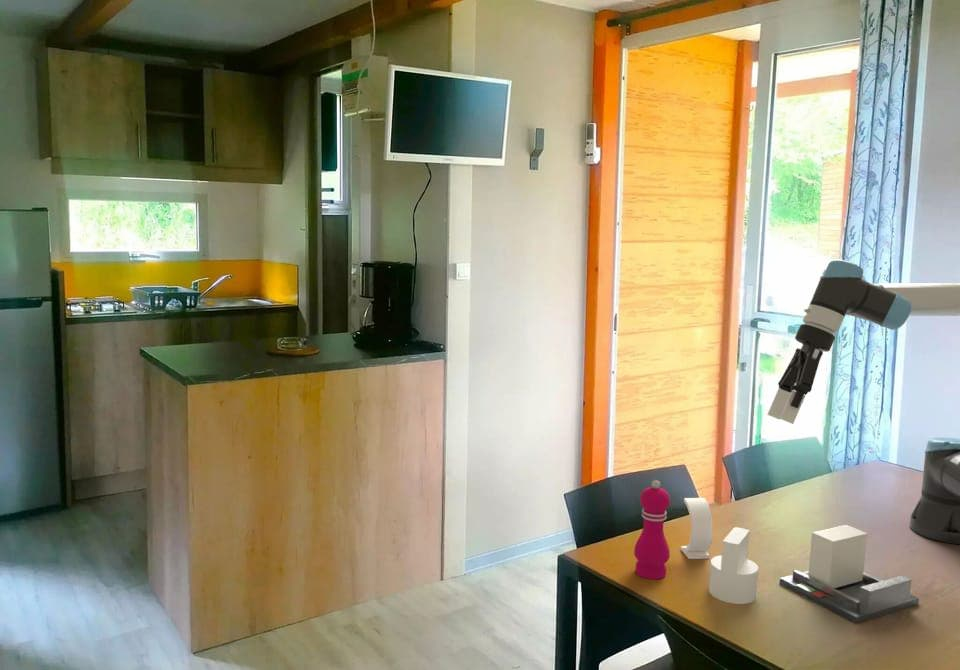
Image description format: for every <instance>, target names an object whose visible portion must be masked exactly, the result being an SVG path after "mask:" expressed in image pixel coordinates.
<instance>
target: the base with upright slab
mask: <svg viewBox="0 0 960 670" xmlns="http://www.w3.org/2000/svg"><path fill="white" fill-rule="evenodd" d="M750 532H751V531H750V529H746V528H743V527H737V526H735V527H733V528H732V529H731V531H730V532H729V533H728V534H727V535H726V536H725V538H724V539H723V540H722V548H721V549H722V550H721V555H720V554H719V555H715V556H713V557H712V558H711V560H710V567H709V579H708V580H709V581H708V592H709V594H710V595H711V596H712V597H714V598H715V599H718V600H720V601H722V602H725V603H728V604H729V603H730V604H735V605H736V604H737V605H739V604H740V605H745V604H750V603H754V601H755V600H756V599H757V591H758V578H759V577H758V576H759V566H758V564H757V563H755V561H754V560H750V559H748V558H749V544H750Z"/></svg>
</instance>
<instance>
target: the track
mask: <svg viewBox="0 0 960 670" xmlns="http://www.w3.org/2000/svg"><path fill="white" fill-rule="evenodd" d="M808 573H809V570H805V571H800V570H798V569H795V570H792V574H790V575H787V576H783V577H779V585H780V586H781V585H782V587H785V588H787V589H789V590H791V591H793V592H795V593H797V594H798V595H801V596H803V597H805V598H806V599H807V600H810V601H812V602H814V603H815V604H818V605H820V606H821V607H823V608H825V609H828V610H829V611H831V612H833V613H835V614H837V615H838V616H840V617H843V618H844V619H847V620H848V621H850V622H852V623H854V624H856V625H858V624H861V623H863V622H866V621H870V620H873V619H876V618H879V617H882V616H886V615H889V614H891V613H895V612H898V611H901V610H905V609H907V608H911V607H914V606H918V605H919V603H920V602H919V601H920V599H919V598H918V597H916V596H915V595H912V594H911V588H912V578H909V577H906V576H905V575H898V576H895V577H892V578H887V579H885V580H882V579H880V578H878V577H876V576H873V575H872V574H869V573H867V572H865V571H864V572H863V580H862V581H859V582H855V583H851V584H848V585H844V586H841V587H837V588H832V587H830V586H828V585H826V584H824V583H822V582H820V581H818V580H816V579H814V578H812V577H810V576H808Z"/></svg>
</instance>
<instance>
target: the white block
mask: <svg viewBox="0 0 960 670" xmlns="http://www.w3.org/2000/svg"><path fill="white" fill-rule="evenodd" d="M867 538H868V533H867V532H865V531H862V530H860V529H858V528H855V527H852V526H850V525H848V524H842V525H838V526H834V527H830V528H826V529H821V530H817V531H813V532H811V540H810V542H811V543H810V551H809V563H808V564H809V565H808V571H809V573H808V576H810V577H812V578H814V579H816V580H818V581H820V582H822V583H824V584H826V585H828V586H830V587H832V588H837V587H841V586H844V585H848V584H851V583H855V582H859V581H862V580H863V572H865V560H866V549H867V542H868V541H867V540H868V539H867Z"/></svg>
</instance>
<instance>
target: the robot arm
mask: <svg viewBox="0 0 960 670" xmlns="http://www.w3.org/2000/svg"><path fill="white" fill-rule="evenodd" d="M863 276H864V269H863V267H861V266H859V265H858V264H855V263H853V262H851V261H848V260H843V259H839V258H838V259H837V258H836V259H831V260H830V261H828V263H827V264H826V266H825V268H824V270H823V272H822V273H821V275H820V277H819V281H818V283H817V286H816V289H815V291H814V293H813V295H812V298H811V301H810V303H809V305H808V307H805V308H804V309H803V311H804V313H806V314H804V316H803V318H802V322H803V323H802V324H800V326H799V327H798V329H797V332H796V335H795V337H794V340H795V341H797V342H798V343H800V344H801V345H802V346H801V348H798V347H797V348H796V349H795V352H794V354H793V356H792V358H791V360H790V361H789V363H788V366H787V367H786V369H785V371H784V373H783V374H782V377H780V380H779V381H778V385H777V386H778V389H777V391H776V394H775V395H774V398H773V401H772V402H771V405H770V407H769V410H768V413H767V416H770V417H772V418H773V419H777V420H779V421H780V420H782V421H784V422H787V423H790V424H792V425H794V423H795V421H796V419H797V416H798V414H799V411H800V410H801V407H802V404H803V402H804V400H805V398H806V395H807V394H808V393H811V391H812V388H813V384H814V382H815V379H816V378H815V377H816V375H817V370H818V368H819V364H820V361H821V359H822V356H823V353H824V352H830V351H831V349H832V347H833V343H834V341H835V339H836V336H835V335H837V334H838V333H839V332H840V329H841V327H842V324H843V321H844V319H845V316H846V315H847V316H851V317H855V318H858V319H862V320H865V321H867V322H871V323H873V324H876V325H878V326H880V327H881V328H882V327H883V328H886V329H889V330H890V331H891V330H892V331H895V330H898V329H899V328H901V327H902V326H904V325H905V323H906V322H907V321H908V318H909V316H912V317H913V316H914V317H921V316H923V317H925V316H927V317H934V316H937V317H940V316H941V317H942V316H943V317H946V316H948V317H953V316H954V317H955V316H957V317H958V316H959V317H960V282H941V283H940V282H936V283H935V282H927V283H926V282H921V283H920V282H916V283H915V282H914V283H912V282H911V283H908V282H907V283H905V282H904V283H902V282H898V283H890V282H889V283H886V282H885V283H870V282H869V281H867V280H866V279H863ZM924 454H925V455H924V464H923V475H922V481H921V483H922V485H921V492H920V498H919V500H918V501H917V504H916V505H915V506H914V509H913V511H912V513H911V515H910V519H909V528H910V529H911V530H912V531H913V532H914V533H916V534H918V535H919V536H923V537H924V538H928V539H931V540H934V541H938V542H942V543H946V544H947V543H948V544H954V545H955V544H956V545H960V438H955V437H933V438H930V439H928V441H927V443H926V448H925V451H924Z"/></svg>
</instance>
